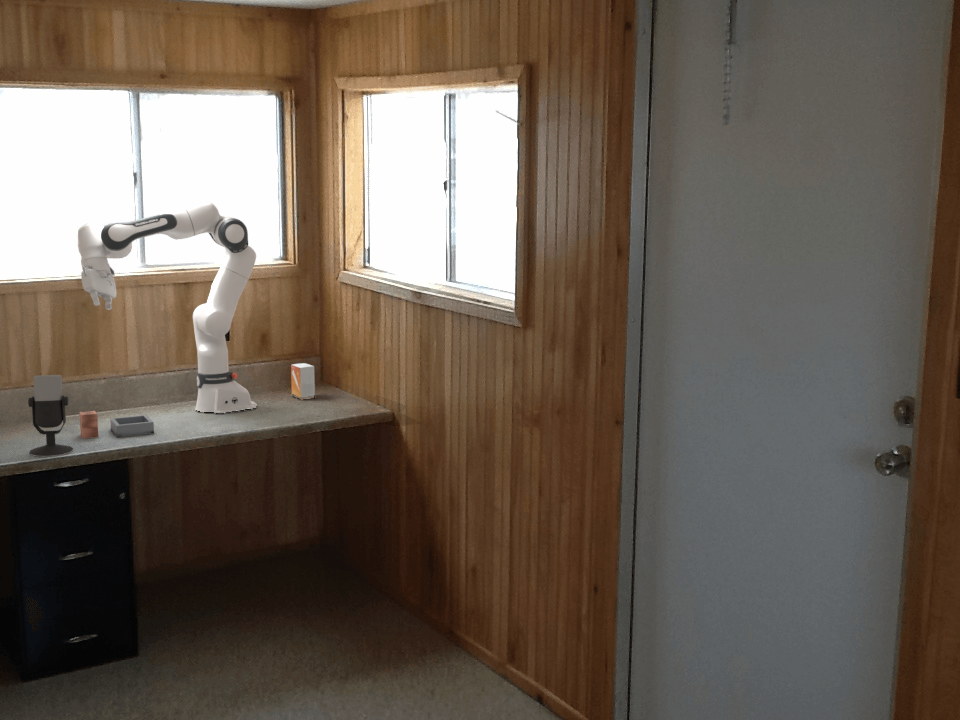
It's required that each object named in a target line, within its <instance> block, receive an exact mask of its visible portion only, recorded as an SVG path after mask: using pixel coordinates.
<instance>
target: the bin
mask: <svg viewBox="0 0 960 720" xmlns="http://www.w3.org/2000/svg"><path fill="white" fill-rule="evenodd" d="M109 421H110V422H109V423H110V431H111V432H112V433H113V435H114V436H115V437H116V438H123V437H124V438H125V437H134V436H133V435H136V436H142V435H141V434H145V435H150V434H149V433H154V434H155V423H154V421H153V420H152V418H150V417H149V416H148V415H147V414H143V415H142V414H141V415H131V416H129V415H128V416H122V417H121V416H120V417H111V418H110V419H109Z"/></svg>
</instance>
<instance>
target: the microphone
mask: <svg viewBox="0 0 960 720" xmlns="http://www.w3.org/2000/svg"><path fill="white" fill-rule="evenodd" d="M33 390H34V391H33V395H32V396H31V397H29V398H28V401H27V403H28V407H30V408H31V415H32V426H33V427H34V428H35V429H36V431H38V433H39V434H40V435H45V441H46V444H45V445H41V446H39V447H35V448H32V449H31V450H30V451H29V455H30V454H31V455H30V456H32V455H33V456H32V457H36V456H54V457H60V456H59V455H61V456H65V455H68V453H69V454H71V453H72V452H74V448H73V446H71V445H64V444H57V443H56V435H57V434H60V432H61V431H62V429H63V428H64V425H65V424H66V420H67V418H66V416H67V415H66V406H69V397H68V396H65V395H63V376H62V375H61V374H48V375H45V374H44V375H41V374H40V375H34V376H33ZM60 425H61V428H60V429H58V430H43V428H44V429H47V428H48V429H49V428H50V429H51V428H57V427H59V426H60ZM70 452H71V453H70ZM64 454H65V455H64Z"/></svg>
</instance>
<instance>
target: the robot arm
mask: <svg viewBox="0 0 960 720" xmlns="http://www.w3.org/2000/svg"><path fill="white" fill-rule="evenodd" d="M76 233H77V235H76V240H77V241H76V242H77V248H78V253H79V254H80V257H81V259H80V263H81V268H82V270H81V272H80V273H81V284H82V285H81V286H82V289H83V291H85V292H88V293H89V295H90V298H91V300H92V301H93V302H92V303H93V305H94V306H95V307H98V306H100V305H101V300H100V298H102V299H103V300H104V302H105V304H104V307H105V308H104V309H105V310H107V311H111V310H113V307H112V302H113V299H116V298H117V294H118V293H117V292H118V291H117V286H116V280H115V278H114V277H115V270H114V269H113V268H112V267H111V266H110V263H109V261H108V259H123V258H125V257H127V256H129V254H130V253H131V251H132V249H133V242H134V241H136V240H139V239H143V238H146V237H149V236H153V235H154V236H155V235H160V234H161V235H166V236H168V237H170V238H171V239H174V240H183V239H184V240H185V239H188V238H192V237H194V236H197V235H201V234H206V233H208V234H209V236H210V237H211V239H212V240H213V242H215V244H217V245H219V246H220V247H224V248H225V256H224V260H223V261H222V263H221V264H220V265H221V266H220V267H219V269H218V271H217V273H216V275H215V277H214V279H213V282H212V284H211V286H210V292H209V294H208V297H207V301H206V303H201V304H200V305H198V306H197V307H195V309H194V311H193V313H192V322H193V331H194V338H195V340H194V341H195V346H196V353H197V372H196V386H197V398H196V399H197V400H196V404H195V408H194V411H196V410H197V411H196V412H198V411H200V412H199V413H204V412H214V413H213V414H216V413H224V412H230V411H236V410H242V409H247V408H254V407H256V406H257V407H258V405H257V403H256V402H255V401H253V400H252V399H251V395H250V393H249V391H248V389H247V388H245V387H244V386H242V385H241V384H240V383H238V382H237V381H235V380H236V379H237V378H238V377H239V375H238V374H237V372H233V371H231V370H229V369H230V368H229V349H228V346H227V340H226V334H228V333H229V331H230V330H231V326H232V322H233V320H234V319H233V318H234V316H235V313H236V309H237V308H238V303H239V300H240V298H241V296H242V294H243V291H244V290H245V287H246V285H247V283H248V281H249V280H250V277H251V274H252V272H253V269H254V267H255V263H256V259H257V253H256V252H255V250H254V249H253V248H252V247H251V246H250V245H249V233H248V229H247V226H246V224H245V223H244V222H243V221H241V220H240V219H238V218H235V217H233V216H222V215H221V214H220V212H219V210H218V208H217V206H215V204H213V203H212V202H207V201H206V202H198V203H191V204H188V205H185V206H180V207H177V208H175V209H172V210H169V211H166V212H163V213H159V214H155V215H152V216H147V217H144V218H139V219H135V220H131V221H130V220H129V221H126V220H125V221H123V220H113V221H110V222H108V223H106V224H104V226H103V225H101V224H100V223H97V222H89V223H86V224H84V225H82V226H80V227H79V228H78V229H77V232H76ZM99 297H100V298H99ZM224 414H225V413H224Z"/></svg>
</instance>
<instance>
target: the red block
mask: <svg viewBox="0 0 960 720" xmlns="http://www.w3.org/2000/svg"><path fill="white" fill-rule="evenodd" d="M79 427H80V428H79V430H80V431H79V432H80V437H81V438H82V439H83V438H84V439H90V437H93V438H99V423H98V413H97V411H96V410H90V411H79Z"/></svg>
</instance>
